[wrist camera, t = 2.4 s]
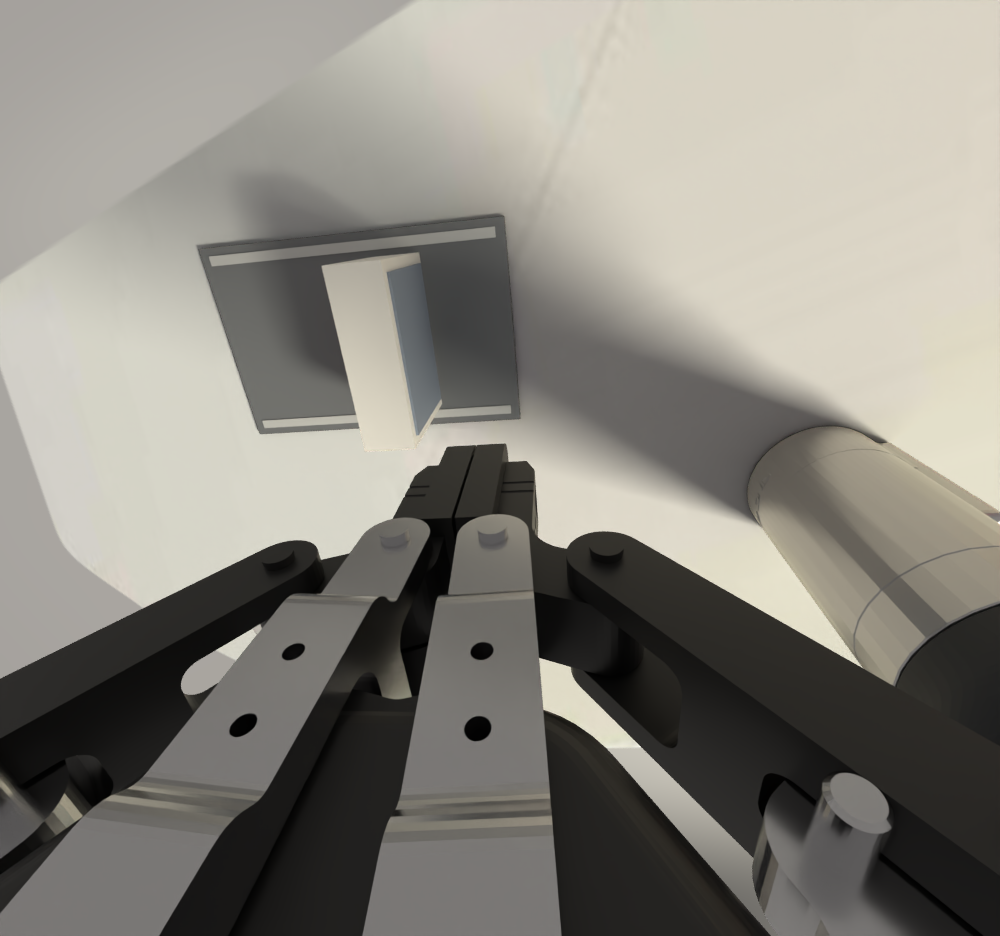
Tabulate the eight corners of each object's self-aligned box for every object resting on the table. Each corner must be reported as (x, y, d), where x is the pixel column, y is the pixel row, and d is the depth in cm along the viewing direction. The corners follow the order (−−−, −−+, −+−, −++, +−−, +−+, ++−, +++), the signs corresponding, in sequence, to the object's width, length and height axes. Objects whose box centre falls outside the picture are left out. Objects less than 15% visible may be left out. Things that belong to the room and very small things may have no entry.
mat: (504, 216, 30) (503, 216, 29) (520, 417, 35) (520, 419, 35) (202, 248, 32) (197, 249, 32) (262, 432, 38) (259, 434, 37)
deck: (421, 252, 31) (383, 259, 23) (444, 403, 35) (418, 449, 28) (370, 257, 31) (318, 266, 24) (399, 406, 35) (362, 452, 28)
